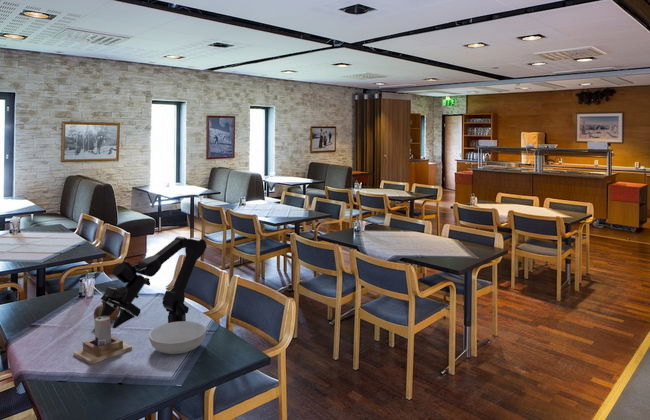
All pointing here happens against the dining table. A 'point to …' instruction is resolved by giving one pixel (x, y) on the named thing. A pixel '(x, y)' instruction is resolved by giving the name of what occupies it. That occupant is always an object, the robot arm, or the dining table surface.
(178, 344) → the serving bowl
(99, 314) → the tin
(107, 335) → the energy drink
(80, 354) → the wooden tray
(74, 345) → the dining table surface
